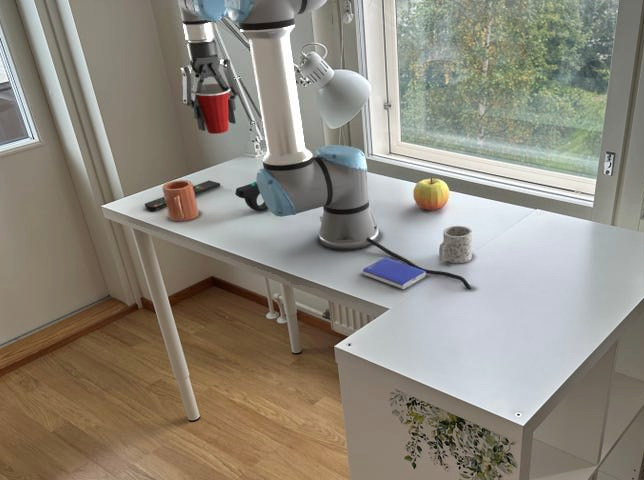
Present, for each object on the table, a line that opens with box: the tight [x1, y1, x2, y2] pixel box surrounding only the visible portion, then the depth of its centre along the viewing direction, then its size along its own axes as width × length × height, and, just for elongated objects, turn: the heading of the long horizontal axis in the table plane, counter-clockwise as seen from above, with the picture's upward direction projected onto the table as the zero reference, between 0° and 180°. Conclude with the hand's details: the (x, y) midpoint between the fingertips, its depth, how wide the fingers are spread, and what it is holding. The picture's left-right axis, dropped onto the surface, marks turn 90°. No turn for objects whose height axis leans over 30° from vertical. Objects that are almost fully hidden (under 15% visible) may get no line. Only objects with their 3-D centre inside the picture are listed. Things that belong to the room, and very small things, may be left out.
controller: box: [234, 180, 269, 212], centre depth 200 cm, size 4×12×10 cm, turn 133°
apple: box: [413, 177, 450, 211], centre depth 197 cm, size 10×10×8 cm
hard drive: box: [362, 257, 427, 290], centre depth 164 cm, size 2×8×12 cm
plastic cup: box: [191, 83, 231, 135], centre depth 200 cm, size 11×11×12 cm
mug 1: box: [161, 179, 199, 222], centre depth 198 cm, size 11×8×9 cm
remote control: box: [144, 180, 221, 212], centre depth 213 cm, size 5×24×1 cm, turn 142°
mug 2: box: [438, 225, 473, 264], centre depth 169 cm, size 10×7×7 cm, turn 140°
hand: (217, 126), depth 202 cm, fingers closed on plastic cup, 9 cm apart
